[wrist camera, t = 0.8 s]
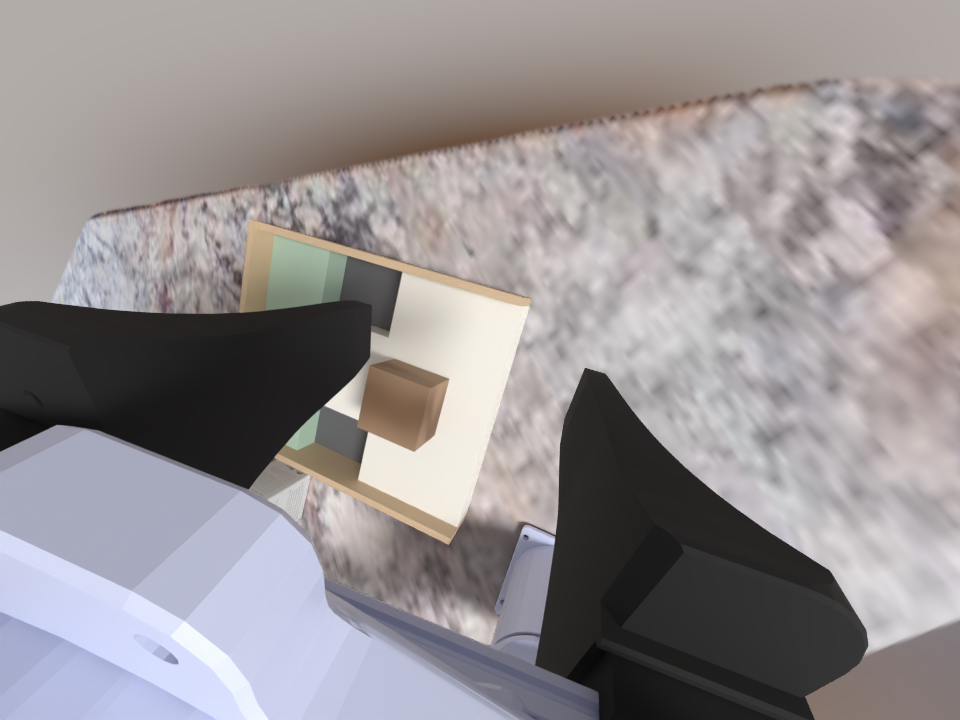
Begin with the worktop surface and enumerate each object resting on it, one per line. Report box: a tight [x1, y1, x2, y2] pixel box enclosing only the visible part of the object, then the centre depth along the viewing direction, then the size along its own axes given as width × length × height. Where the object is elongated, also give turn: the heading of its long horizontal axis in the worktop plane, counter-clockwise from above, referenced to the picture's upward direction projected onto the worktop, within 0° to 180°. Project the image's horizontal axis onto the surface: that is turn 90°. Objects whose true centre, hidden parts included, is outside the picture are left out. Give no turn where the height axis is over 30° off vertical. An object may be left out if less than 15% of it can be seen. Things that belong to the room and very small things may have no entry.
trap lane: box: [239, 219, 532, 545], centre depth 30 cm, size 20×24×4 cm
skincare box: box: [249, 459, 311, 521], centre depth 32 cm, size 6×4×12 cm
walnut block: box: [357, 359, 449, 452], centre depth 27 cm, size 5×5×4 cm
